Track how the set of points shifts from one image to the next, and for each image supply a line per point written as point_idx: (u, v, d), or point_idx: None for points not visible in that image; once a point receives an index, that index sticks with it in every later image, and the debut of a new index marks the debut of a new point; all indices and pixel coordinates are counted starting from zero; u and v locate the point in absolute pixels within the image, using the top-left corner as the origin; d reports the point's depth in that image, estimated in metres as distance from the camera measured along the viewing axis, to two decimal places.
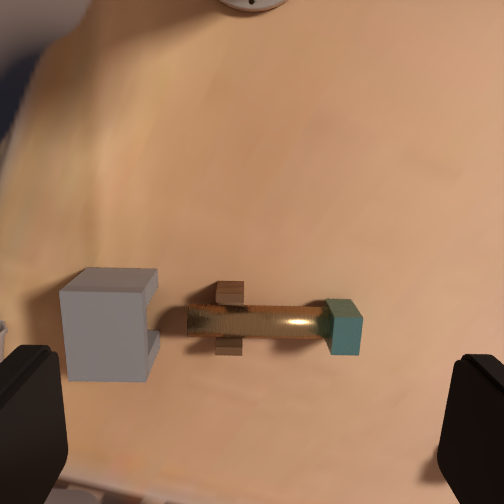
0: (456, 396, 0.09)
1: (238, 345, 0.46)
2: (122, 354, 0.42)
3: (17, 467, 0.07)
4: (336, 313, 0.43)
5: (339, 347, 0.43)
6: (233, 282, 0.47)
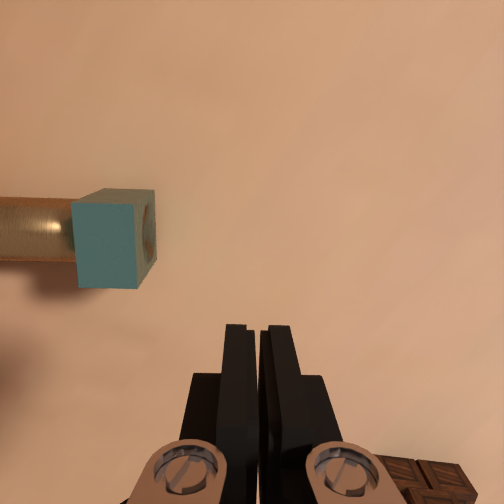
0: (260, 363, 0.10)
1: None
2: None
3: None
4: (85, 199, 0.21)
5: (94, 271, 0.21)
6: None
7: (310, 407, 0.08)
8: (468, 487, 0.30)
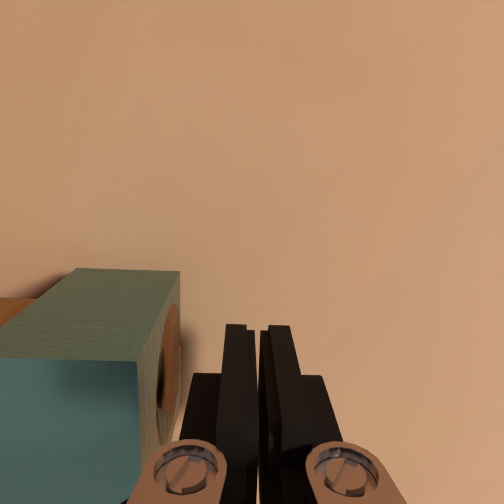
0: (260, 363, 0.10)
1: None
2: None
3: None
4: (12, 333, 0.08)
5: None
6: None
7: (310, 407, 0.08)
8: None
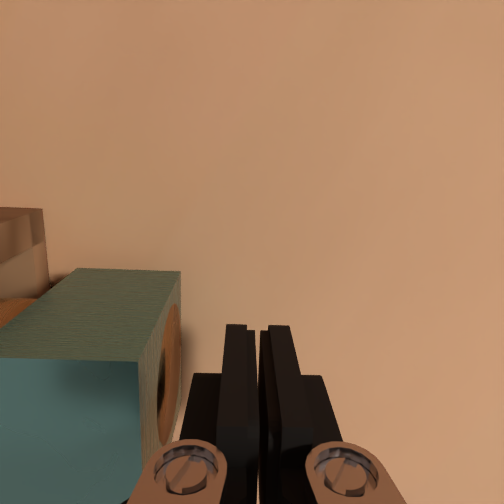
0: (259, 363, 0.10)
1: None
2: None
3: None
4: (13, 333, 0.08)
5: None
6: None
7: (310, 407, 0.08)
8: None
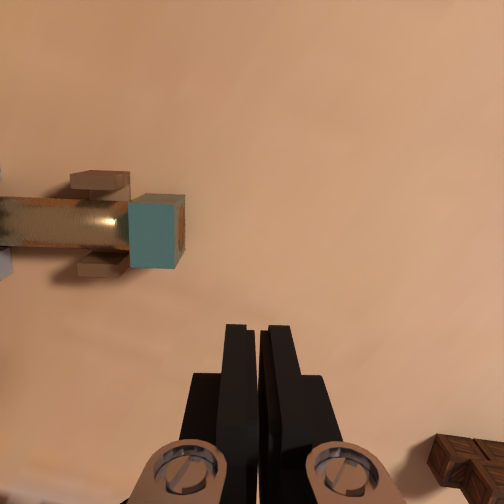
0: (260, 363, 0.10)
1: (114, 262, 0.30)
2: None
3: None
4: (137, 201, 0.27)
5: (142, 255, 0.28)
6: (113, 171, 0.32)
7: (310, 407, 0.08)
8: None
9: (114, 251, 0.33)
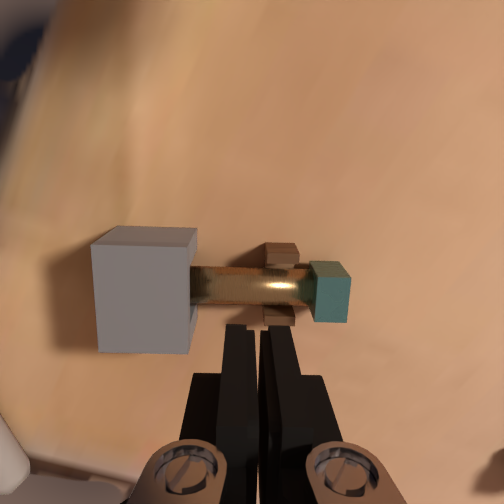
0: (259, 363, 0.10)
1: (290, 314, 0.40)
2: (162, 321, 0.36)
3: None
4: (320, 273, 0.37)
5: (324, 313, 0.38)
6: (283, 244, 0.42)
7: (310, 407, 0.08)
8: None
9: None
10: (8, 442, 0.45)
